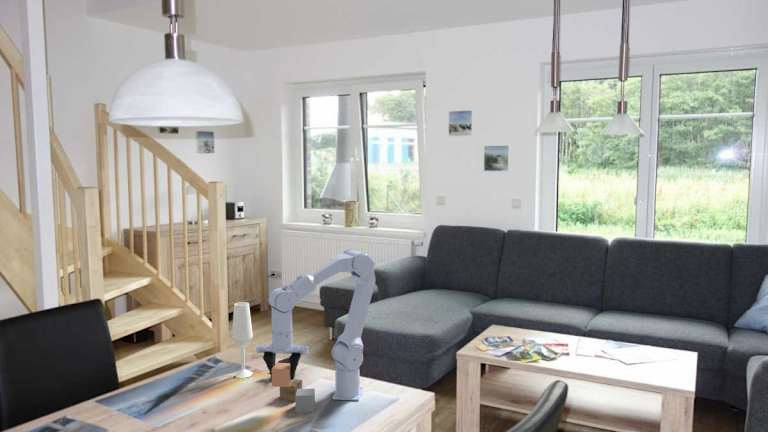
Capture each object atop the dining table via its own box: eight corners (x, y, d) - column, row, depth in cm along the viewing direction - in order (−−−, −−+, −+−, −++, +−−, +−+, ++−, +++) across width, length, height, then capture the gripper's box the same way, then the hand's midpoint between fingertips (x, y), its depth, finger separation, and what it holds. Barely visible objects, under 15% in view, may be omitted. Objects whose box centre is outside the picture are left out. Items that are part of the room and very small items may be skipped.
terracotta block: (276, 379, 171) (276, 362, 171) (293, 380, 171) (293, 363, 170) (271, 386, 166) (271, 369, 166) (289, 386, 166) (289, 369, 165)
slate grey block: (297, 405, 173) (297, 388, 172) (314, 405, 173) (314, 388, 172) (295, 412, 168) (295, 395, 167) (313, 412, 168) (313, 395, 167)
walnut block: (287, 393, 181) (286, 378, 180) (302, 395, 180) (302, 379, 179) (279, 400, 176) (279, 384, 176) (295, 402, 175) (295, 386, 174)
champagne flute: (229, 374, 196) (227, 303, 194) (247, 369, 201) (245, 300, 198) (239, 380, 192) (237, 307, 189) (257, 375, 196) (256, 304, 194)
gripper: (252, 334, 164) (253, 382, 165) (304, 336, 162) (304, 384, 164) (260, 327, 171) (261, 373, 172) (309, 328, 169) (310, 374, 171)
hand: (283, 378), depth 168 cm, fingers closed on terracotta block, 5 cm apart
